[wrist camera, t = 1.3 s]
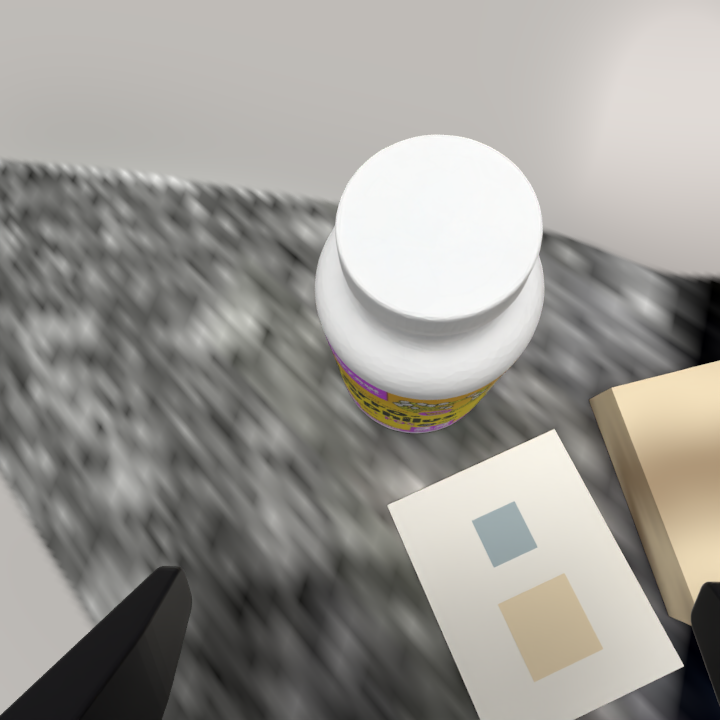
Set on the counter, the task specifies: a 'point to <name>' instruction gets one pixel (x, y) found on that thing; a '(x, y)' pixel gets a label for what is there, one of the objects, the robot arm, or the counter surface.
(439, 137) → the supplement bottle
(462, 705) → the counter surface
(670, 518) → the base block
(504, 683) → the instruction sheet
